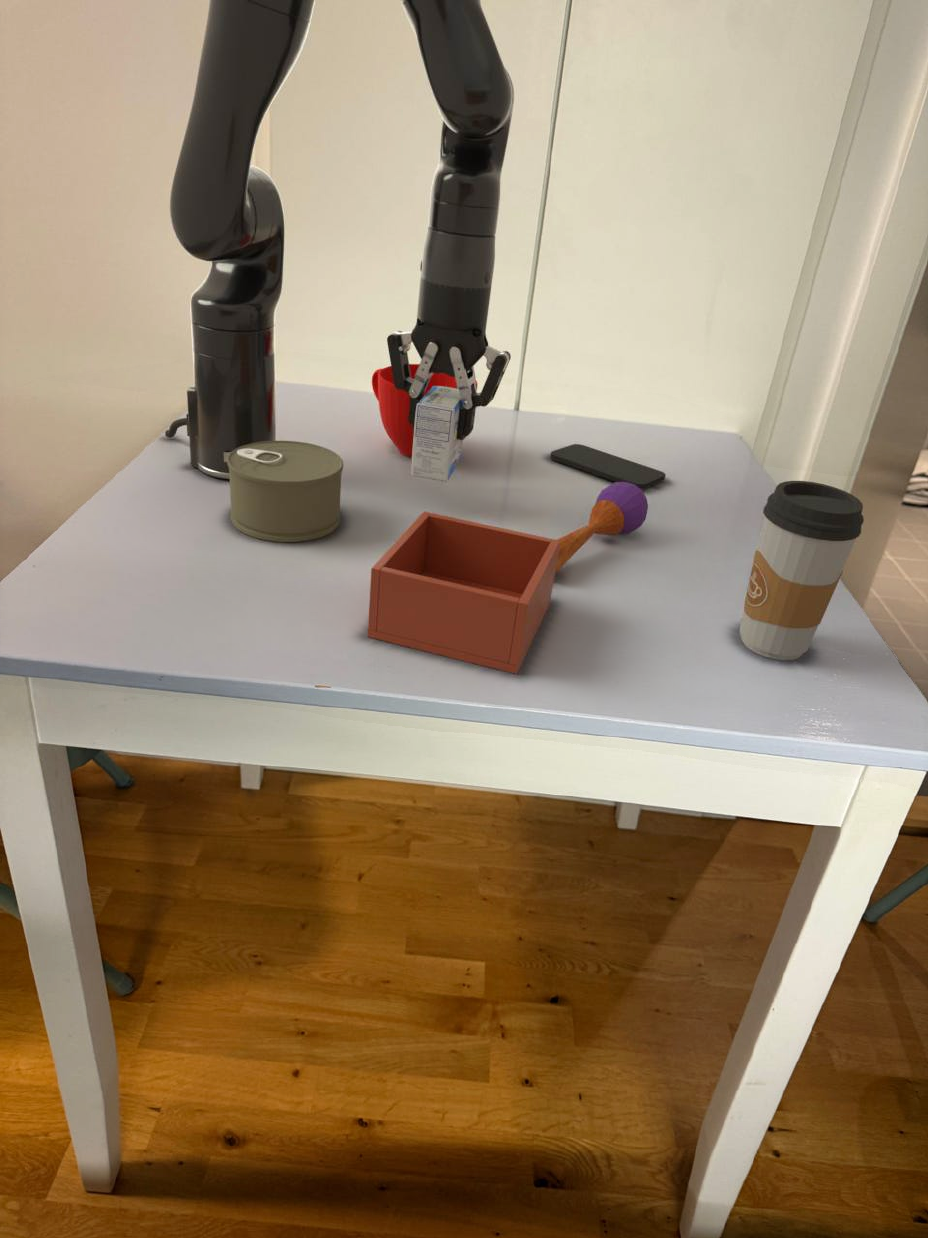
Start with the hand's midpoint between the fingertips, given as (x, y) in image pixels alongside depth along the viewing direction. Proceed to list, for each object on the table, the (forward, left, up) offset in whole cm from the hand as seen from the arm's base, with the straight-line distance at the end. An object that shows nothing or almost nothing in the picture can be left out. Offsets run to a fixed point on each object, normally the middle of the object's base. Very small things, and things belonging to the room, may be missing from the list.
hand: (439, 432), depth 102 cm
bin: (+11, -25, -8) cm, 29 cm away
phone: (+17, +23, -9) cm, 30 cm away
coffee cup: (+39, -16, -9) cm, 44 cm away
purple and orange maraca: (+19, -4, -9) cm, 22 cm away
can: (-13, -13, -9) cm, 20 cm away
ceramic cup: (-9, +17, -9) cm, 21 cm away
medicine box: (0, 0, -5) cm, 5 cm away
